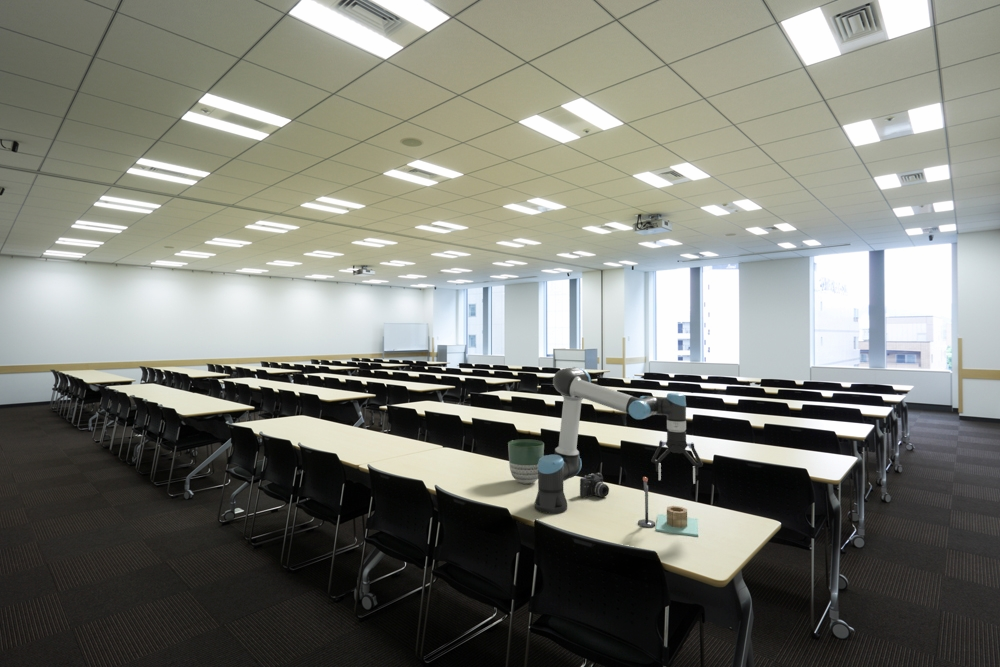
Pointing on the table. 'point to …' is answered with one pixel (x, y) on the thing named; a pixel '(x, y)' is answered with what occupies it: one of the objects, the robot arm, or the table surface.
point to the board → (689, 530)
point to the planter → (525, 459)
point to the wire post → (646, 508)
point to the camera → (593, 486)
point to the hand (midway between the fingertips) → (676, 481)
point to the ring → (677, 516)
